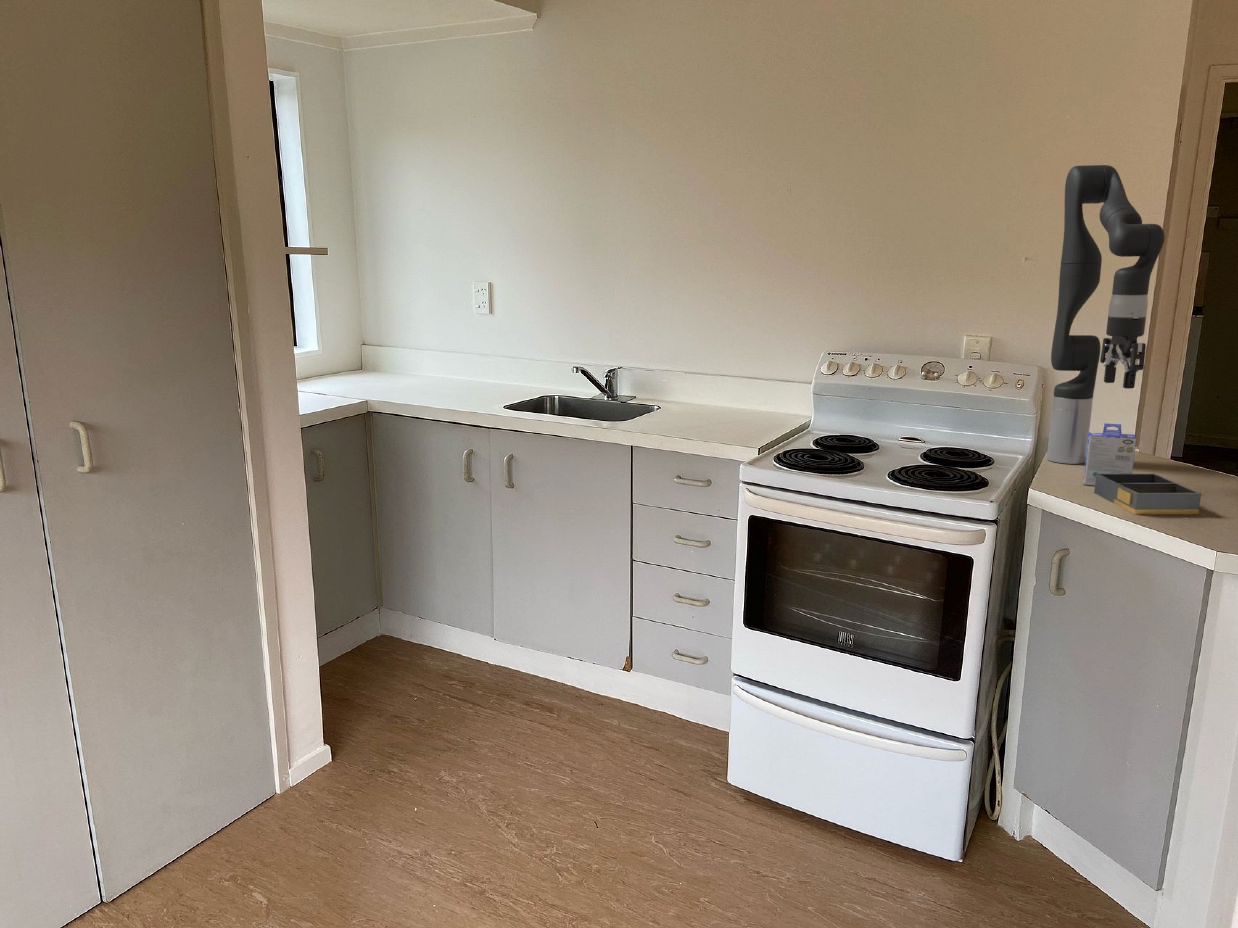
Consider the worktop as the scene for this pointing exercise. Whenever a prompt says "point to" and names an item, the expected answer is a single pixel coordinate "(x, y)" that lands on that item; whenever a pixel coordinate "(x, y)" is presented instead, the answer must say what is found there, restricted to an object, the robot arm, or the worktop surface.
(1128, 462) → the ink cartridge box
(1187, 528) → the worktop surface
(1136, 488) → the tray
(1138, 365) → the robot arm
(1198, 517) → the worktop surface
